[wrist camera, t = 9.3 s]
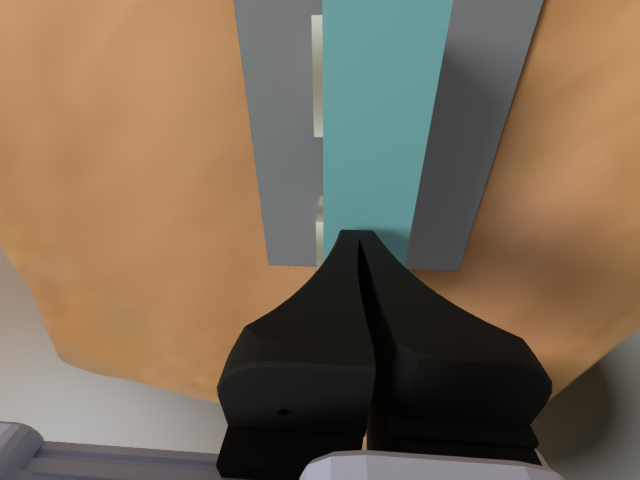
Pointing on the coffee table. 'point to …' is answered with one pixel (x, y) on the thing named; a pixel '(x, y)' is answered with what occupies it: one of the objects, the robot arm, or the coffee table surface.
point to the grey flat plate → (444, 134)
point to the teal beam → (378, 112)
